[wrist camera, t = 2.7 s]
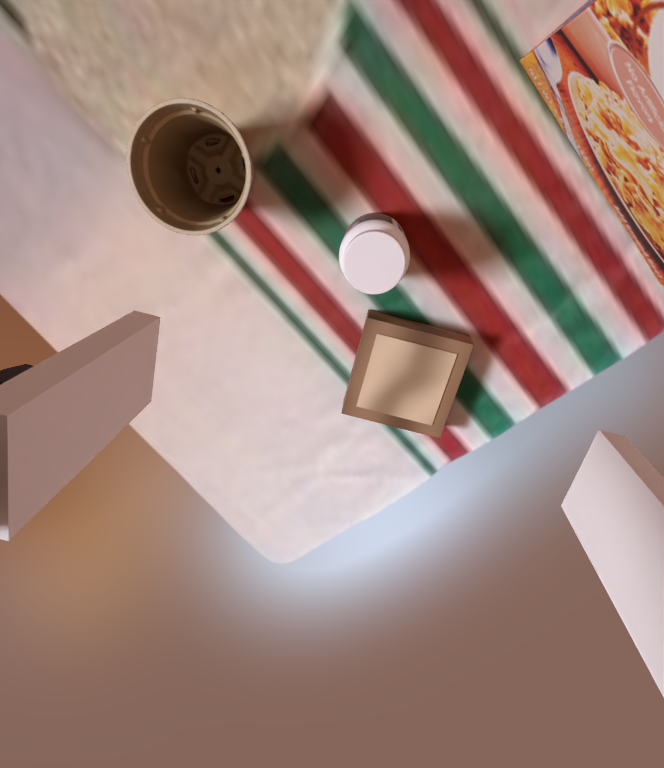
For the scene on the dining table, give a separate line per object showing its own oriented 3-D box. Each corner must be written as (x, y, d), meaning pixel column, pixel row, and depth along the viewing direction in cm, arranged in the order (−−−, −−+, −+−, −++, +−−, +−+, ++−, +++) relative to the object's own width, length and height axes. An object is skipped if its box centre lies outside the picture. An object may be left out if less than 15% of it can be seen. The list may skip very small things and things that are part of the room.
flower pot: (227, 85, 44) (193, 66, 36) (294, 183, 46) (276, 186, 38) (148, 155, 47) (100, 153, 39) (215, 244, 49) (183, 259, 41)
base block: (343, 400, 54) (341, 414, 51) (368, 309, 50) (367, 318, 47) (436, 424, 54) (439, 438, 51) (468, 335, 50) (474, 345, 47)
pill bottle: (332, 255, 49) (321, 275, 39) (364, 199, 46) (360, 207, 37) (384, 287, 49) (385, 314, 40) (418, 234, 47) (427, 250, 38)
